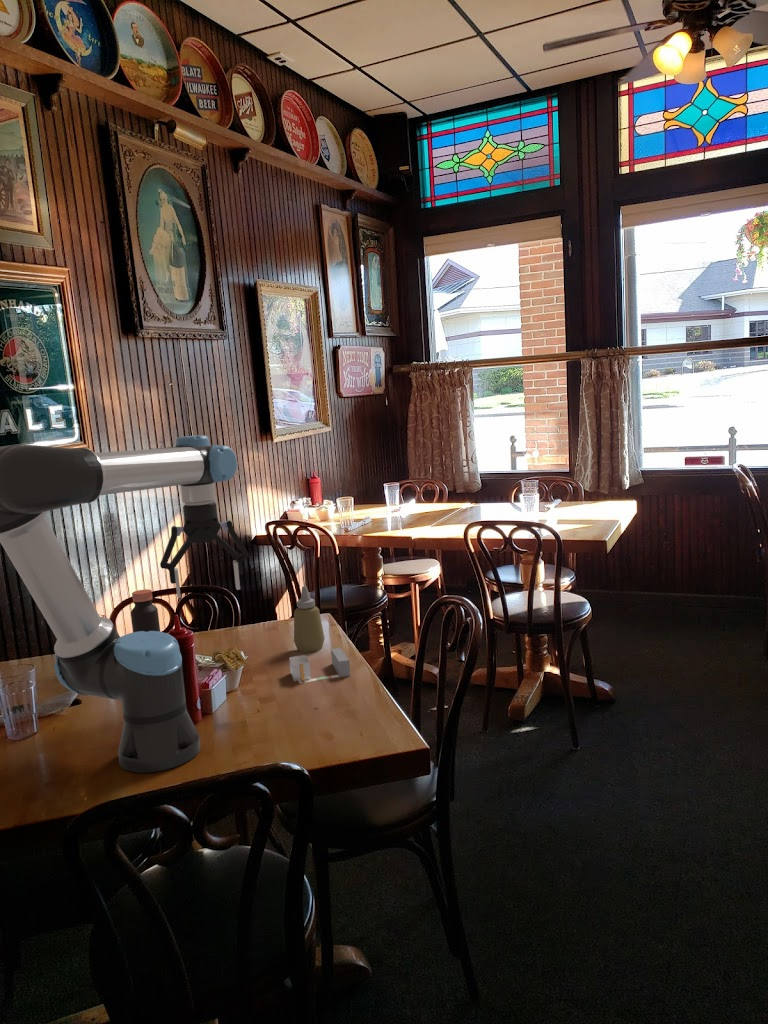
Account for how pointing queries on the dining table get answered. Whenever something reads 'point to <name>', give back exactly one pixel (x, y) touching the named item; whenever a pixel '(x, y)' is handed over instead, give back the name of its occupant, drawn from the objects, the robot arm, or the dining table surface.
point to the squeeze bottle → (307, 624)
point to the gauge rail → (336, 665)
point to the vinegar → (144, 612)
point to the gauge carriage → (300, 668)
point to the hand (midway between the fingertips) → (208, 592)
